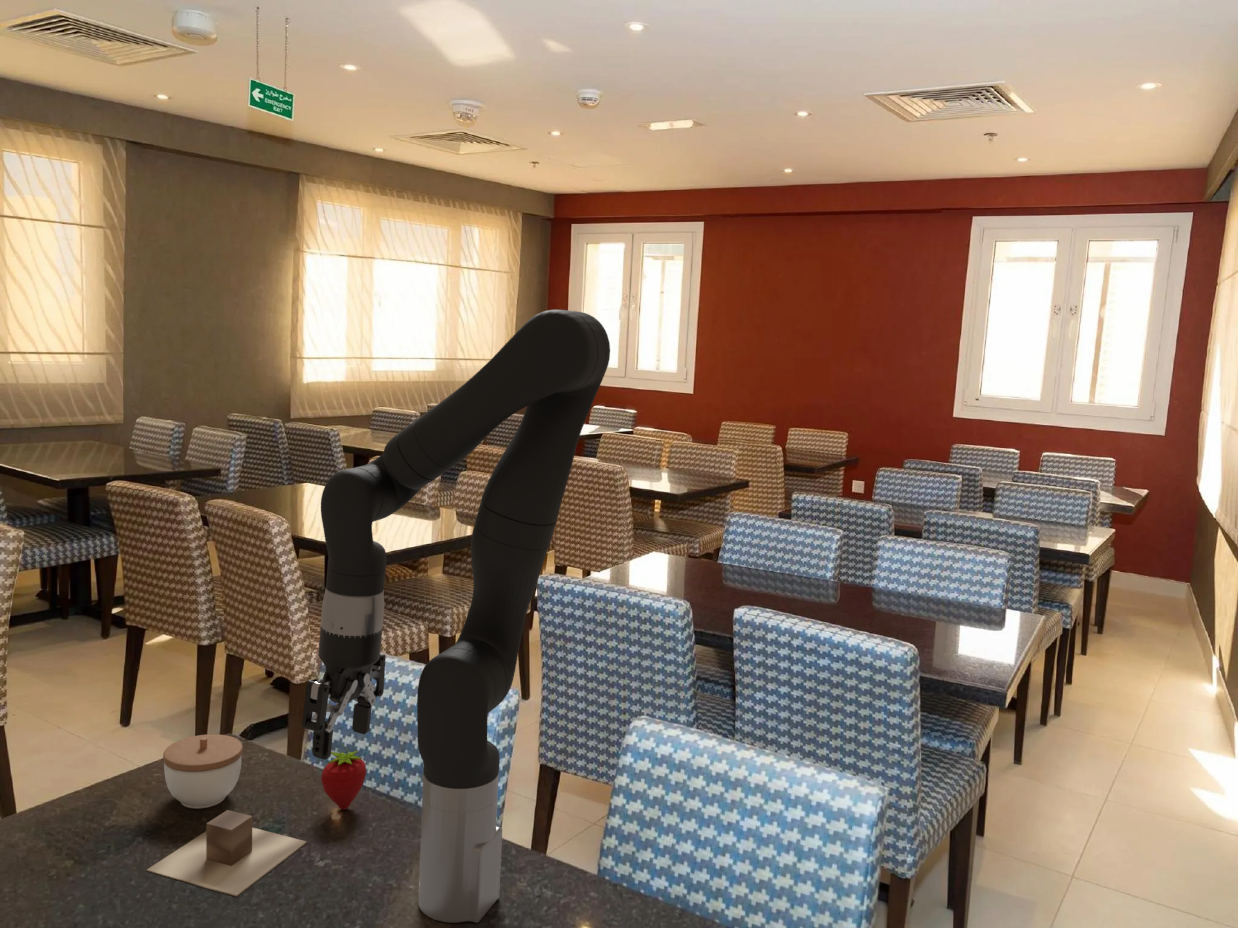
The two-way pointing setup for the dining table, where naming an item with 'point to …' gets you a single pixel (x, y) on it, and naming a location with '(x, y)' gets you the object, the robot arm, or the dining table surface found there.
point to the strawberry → (343, 778)
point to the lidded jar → (202, 769)
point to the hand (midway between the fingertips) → (341, 743)
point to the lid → (228, 855)
